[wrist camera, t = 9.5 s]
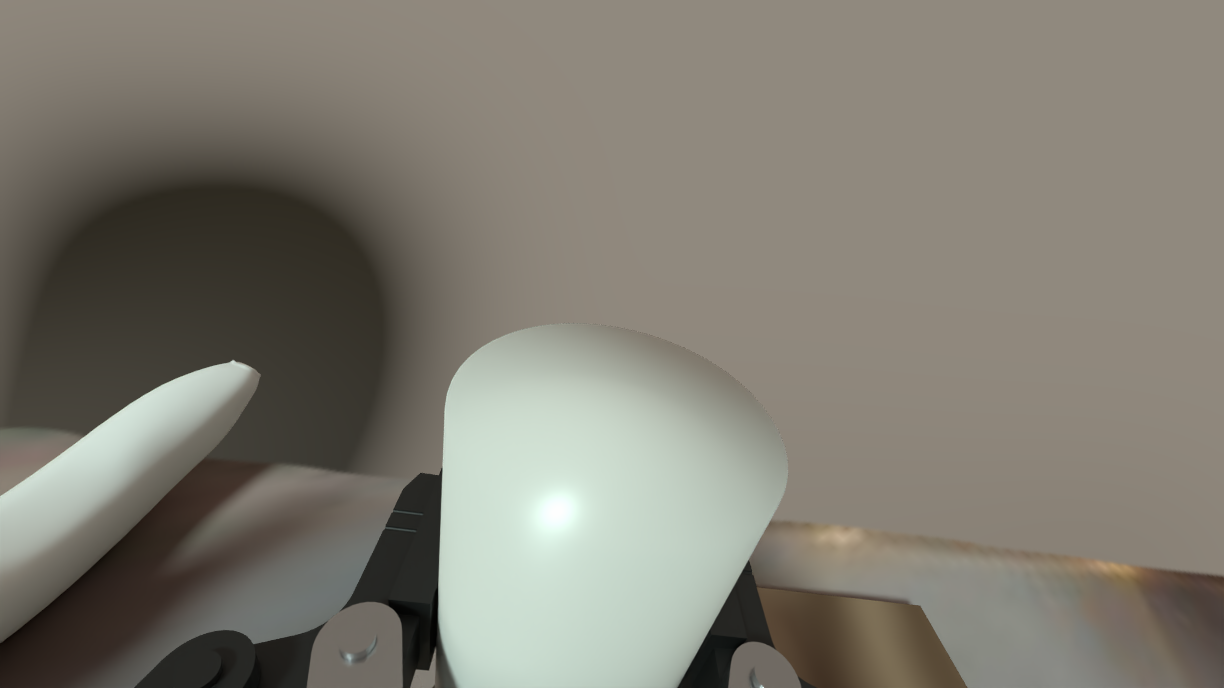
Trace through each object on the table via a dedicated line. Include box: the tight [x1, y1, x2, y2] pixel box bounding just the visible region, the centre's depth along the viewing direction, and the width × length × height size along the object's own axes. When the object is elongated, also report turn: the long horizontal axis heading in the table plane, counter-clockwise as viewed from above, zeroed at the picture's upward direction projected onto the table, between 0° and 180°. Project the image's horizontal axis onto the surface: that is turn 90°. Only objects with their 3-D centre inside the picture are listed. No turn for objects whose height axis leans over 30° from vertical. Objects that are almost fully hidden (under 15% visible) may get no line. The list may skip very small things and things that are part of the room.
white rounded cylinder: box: [435, 323, 788, 688], centre depth 10 cm, size 5×5×12 cm
